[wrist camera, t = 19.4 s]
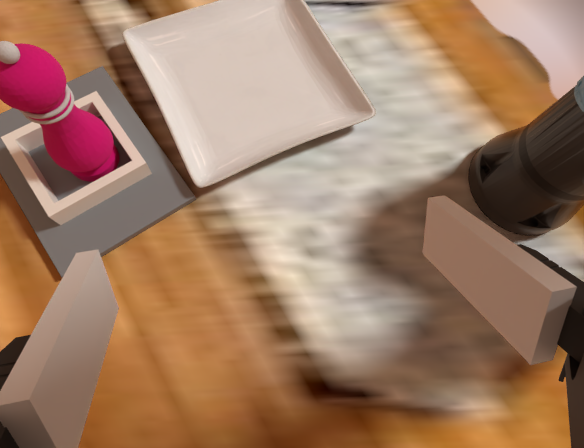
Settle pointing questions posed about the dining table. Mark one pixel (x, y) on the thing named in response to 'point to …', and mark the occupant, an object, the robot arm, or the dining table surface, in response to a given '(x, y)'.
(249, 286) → the dining table surface
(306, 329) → the dining table surface
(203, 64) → the square plate
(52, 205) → the caddy
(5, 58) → the pepper mill
